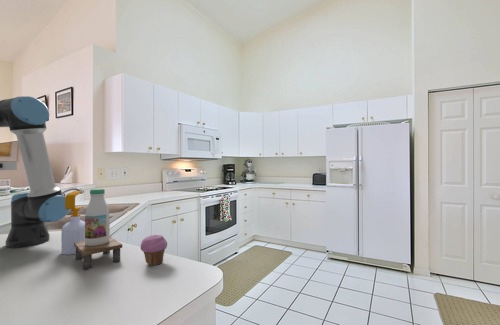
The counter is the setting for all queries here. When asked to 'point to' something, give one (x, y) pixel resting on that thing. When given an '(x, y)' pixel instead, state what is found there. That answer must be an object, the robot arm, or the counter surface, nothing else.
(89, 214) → the milk bottle
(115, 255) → the pegged shelf
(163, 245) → the cupcake
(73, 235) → the soap bottle
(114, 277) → the counter surface
